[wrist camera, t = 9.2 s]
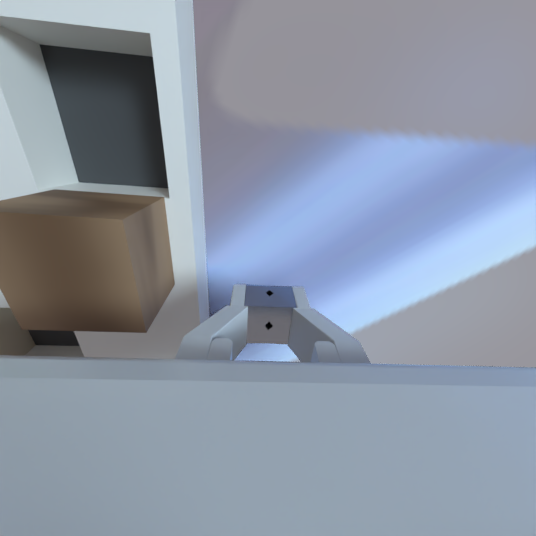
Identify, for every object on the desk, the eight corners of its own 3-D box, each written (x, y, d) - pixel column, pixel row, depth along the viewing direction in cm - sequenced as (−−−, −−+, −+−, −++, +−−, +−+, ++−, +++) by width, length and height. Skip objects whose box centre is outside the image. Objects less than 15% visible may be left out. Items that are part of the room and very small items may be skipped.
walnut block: (84, 280, 13) (21, 329, 10) (54, 189, 11) (-43, 209, 7) (174, 284, 14) (146, 332, 10) (164, 197, 11) (122, 219, 8)
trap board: (34, 360, 20) (-22, 414, 16) (-263, -176, 8) (-792, -506, 4) (212, 362, 21) (201, 412, 17) (187, -103, 9) (132, -301, 5)
